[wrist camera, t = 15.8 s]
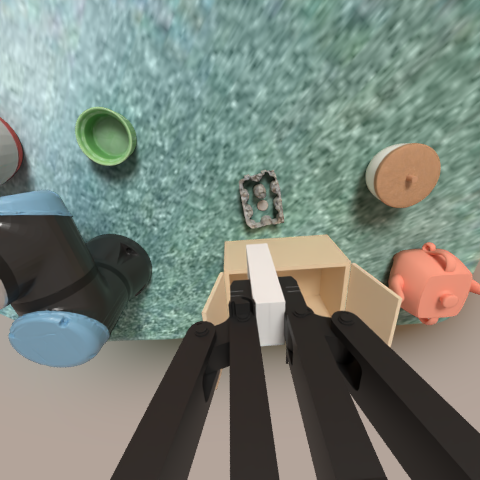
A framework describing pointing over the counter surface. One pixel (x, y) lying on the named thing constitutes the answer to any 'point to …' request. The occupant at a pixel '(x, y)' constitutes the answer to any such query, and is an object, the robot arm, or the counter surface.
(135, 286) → the robot arm
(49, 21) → the counter surface
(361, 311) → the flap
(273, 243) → the carton
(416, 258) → the teapot
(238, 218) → the counter surface
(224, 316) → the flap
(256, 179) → the egg carton
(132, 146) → the ramekin
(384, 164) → the lidded jar
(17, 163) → the citrus juicer
